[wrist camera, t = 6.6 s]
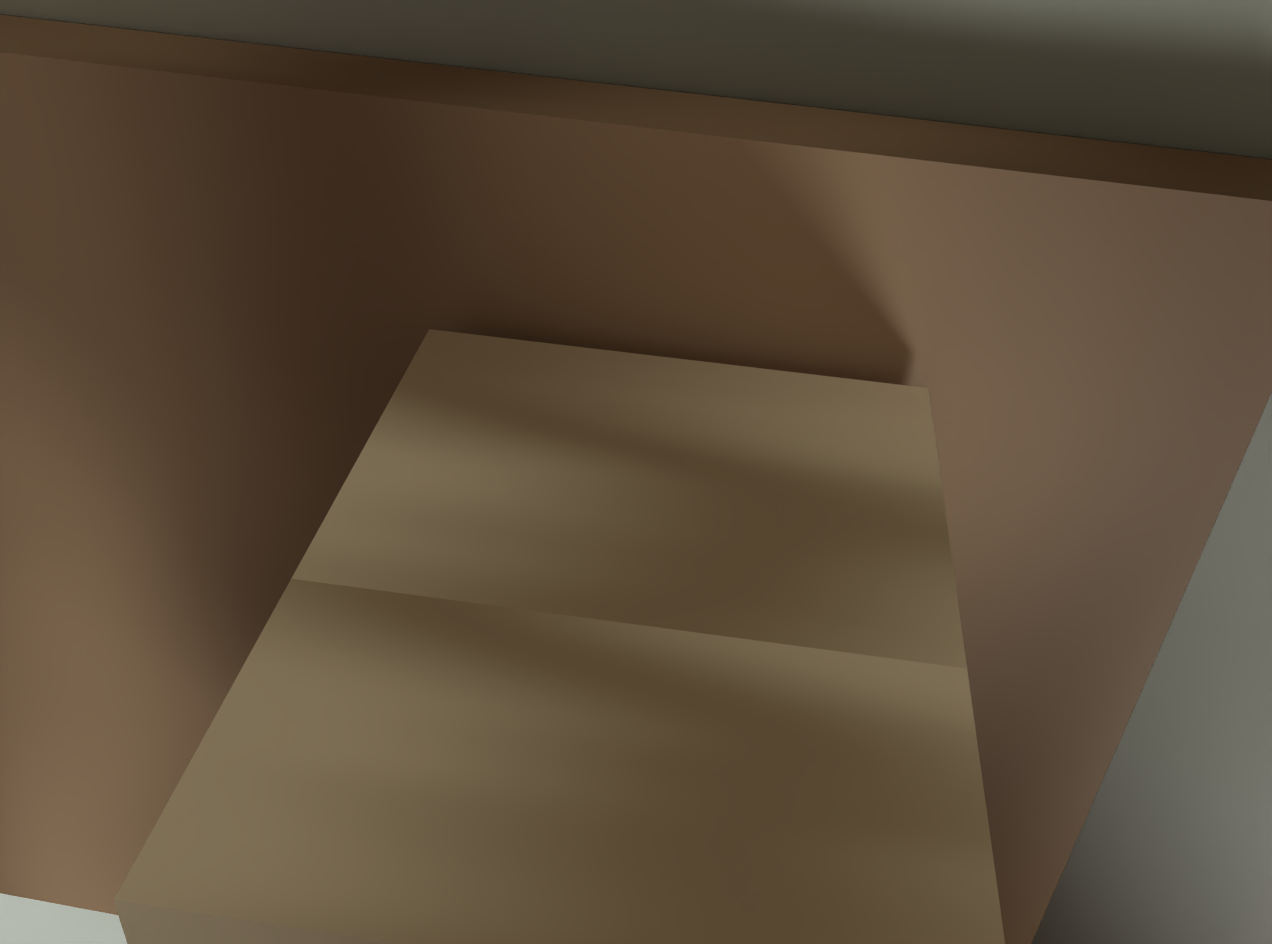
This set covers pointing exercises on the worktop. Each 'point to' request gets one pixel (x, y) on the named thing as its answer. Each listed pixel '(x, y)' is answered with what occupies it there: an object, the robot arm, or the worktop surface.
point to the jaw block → (600, 678)
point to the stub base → (583, 317)
